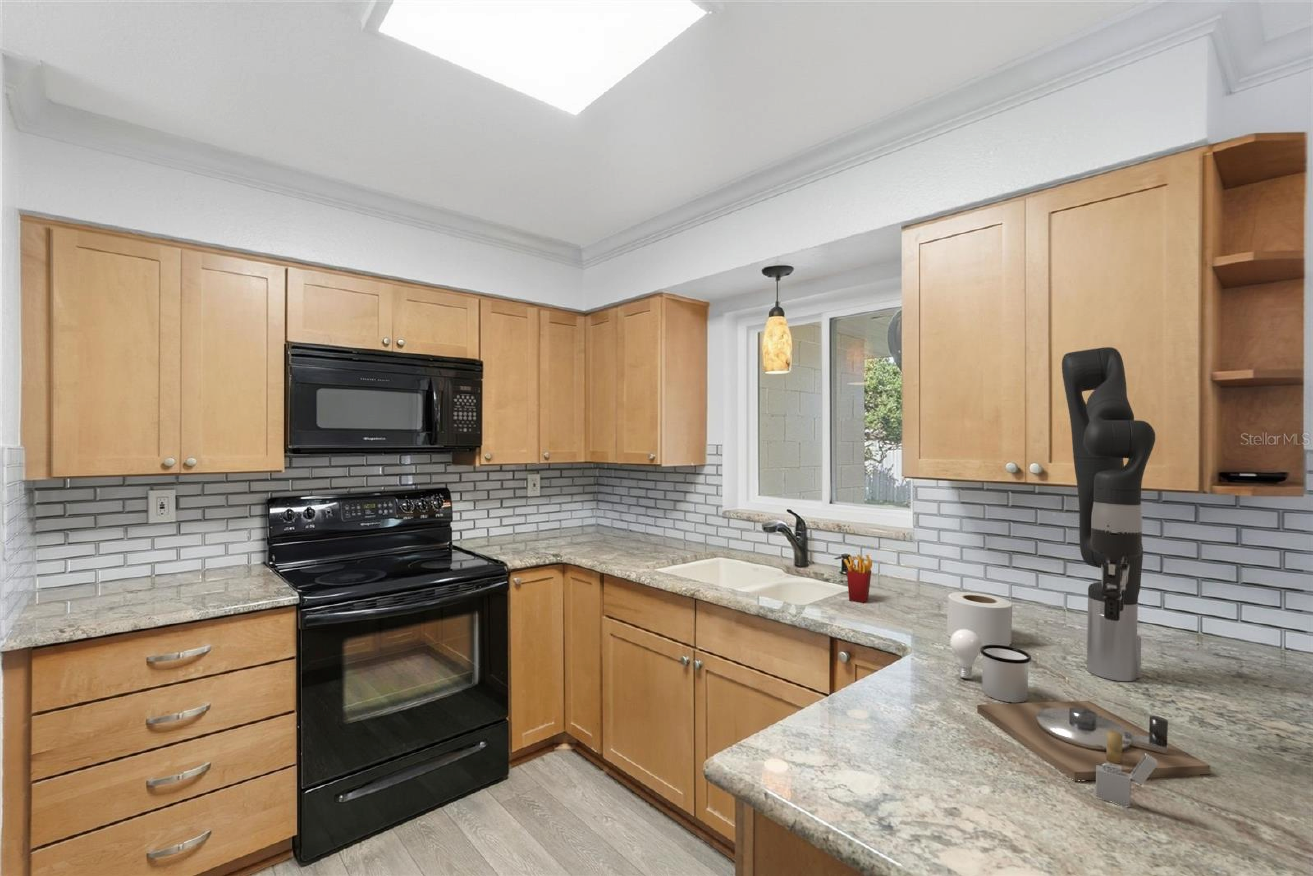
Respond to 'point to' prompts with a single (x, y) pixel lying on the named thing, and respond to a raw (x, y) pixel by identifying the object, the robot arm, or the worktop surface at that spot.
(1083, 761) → the walnut board
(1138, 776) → the lighter
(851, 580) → the french fries
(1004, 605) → the toilet paper roll
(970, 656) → the lightbulb
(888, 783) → the worktop surface
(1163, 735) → the pot lid with knob
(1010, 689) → the mug
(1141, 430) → the robot arm
